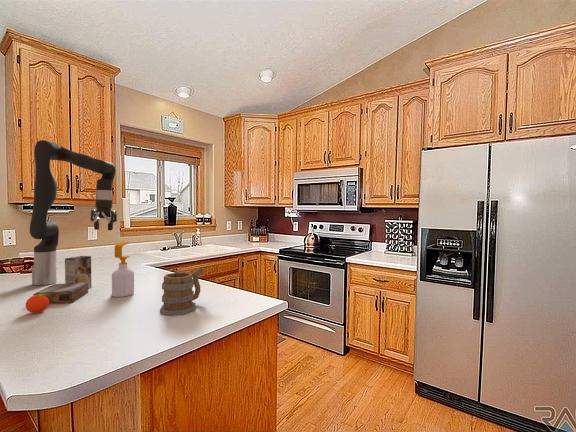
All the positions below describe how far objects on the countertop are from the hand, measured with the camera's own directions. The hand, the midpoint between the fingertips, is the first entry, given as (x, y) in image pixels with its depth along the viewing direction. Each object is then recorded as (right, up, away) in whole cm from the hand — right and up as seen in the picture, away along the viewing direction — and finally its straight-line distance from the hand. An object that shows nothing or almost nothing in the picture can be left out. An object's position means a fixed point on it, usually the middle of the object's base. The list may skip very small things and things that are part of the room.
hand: (103, 229), depth 154 cm
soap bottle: (+20, -30, -17) cm, 40 cm away
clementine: (+2, -30, -42) cm, 51 cm away
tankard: (+56, -30, -35) cm, 72 cm away
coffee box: (-7, -29, -9) cm, 31 cm away
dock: (-3, -29, -24) cm, 38 cm away
